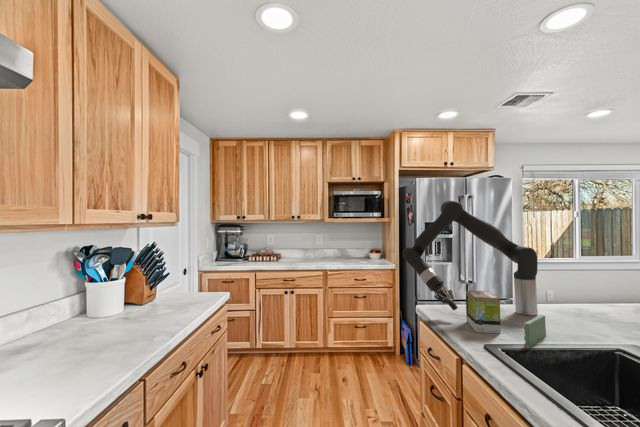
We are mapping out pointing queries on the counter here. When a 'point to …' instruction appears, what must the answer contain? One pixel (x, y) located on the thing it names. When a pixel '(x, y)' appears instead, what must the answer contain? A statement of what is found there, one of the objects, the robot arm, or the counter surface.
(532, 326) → the bracket
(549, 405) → the counter surface
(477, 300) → the tea box
